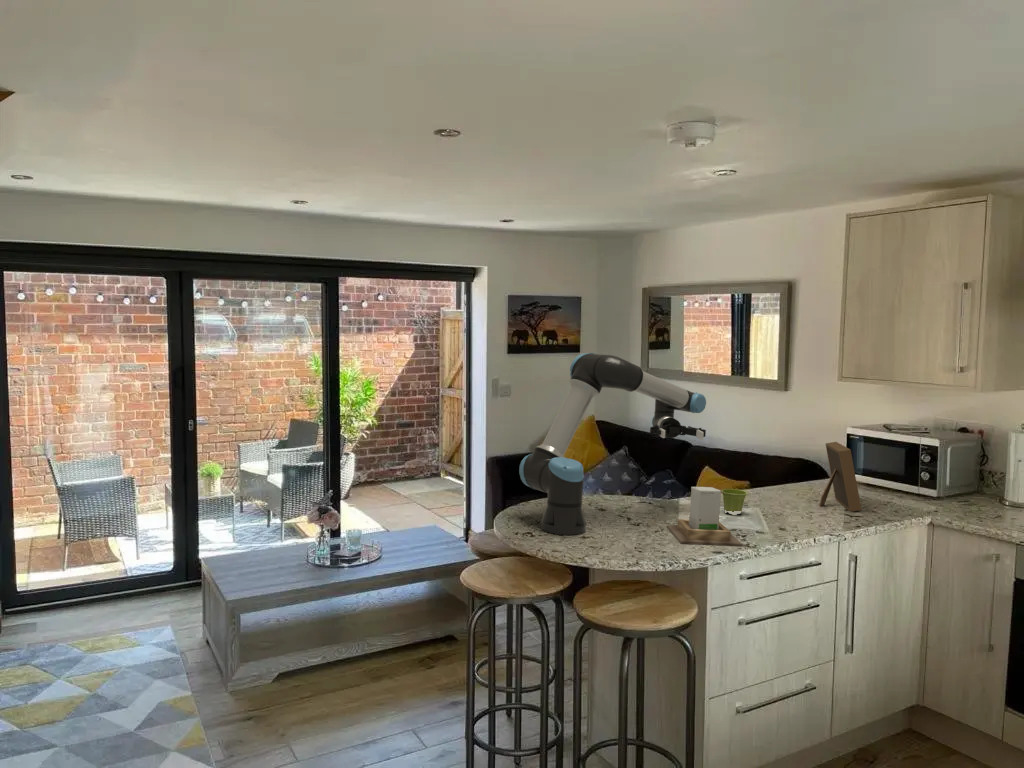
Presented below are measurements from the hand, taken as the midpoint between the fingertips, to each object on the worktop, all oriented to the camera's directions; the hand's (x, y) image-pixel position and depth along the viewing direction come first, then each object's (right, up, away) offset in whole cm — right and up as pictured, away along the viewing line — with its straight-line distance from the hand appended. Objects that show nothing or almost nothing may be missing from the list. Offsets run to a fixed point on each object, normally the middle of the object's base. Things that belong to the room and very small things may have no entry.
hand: (683, 435), depth 266 cm
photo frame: (+73, -32, +47) cm, 93 cm away
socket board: (+4, -33, -12) cm, 36 cm away
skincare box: (+4, -33, -12) cm, 35 cm away
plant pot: (+24, -32, +22) cm, 46 cm away
